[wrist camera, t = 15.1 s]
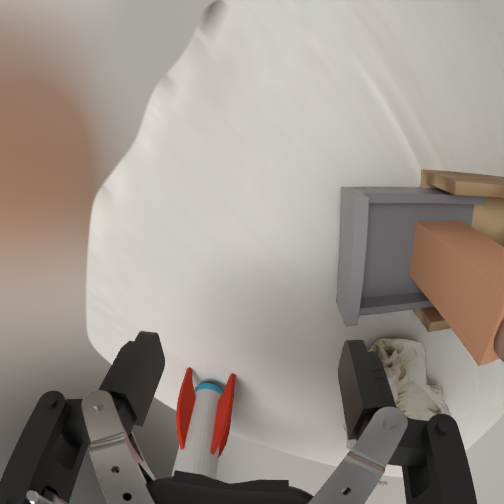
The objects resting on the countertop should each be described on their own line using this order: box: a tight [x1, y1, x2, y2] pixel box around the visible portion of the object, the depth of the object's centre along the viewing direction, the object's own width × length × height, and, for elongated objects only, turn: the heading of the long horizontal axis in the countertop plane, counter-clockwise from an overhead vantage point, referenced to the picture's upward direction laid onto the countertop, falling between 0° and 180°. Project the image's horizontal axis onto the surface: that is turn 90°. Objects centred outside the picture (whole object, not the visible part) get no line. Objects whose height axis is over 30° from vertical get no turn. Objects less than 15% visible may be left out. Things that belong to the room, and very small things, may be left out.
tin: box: [409, 220, 504, 366], centre depth 17 cm, size 5×5×13 cm
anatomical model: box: [343, 338, 451, 485], centre depth 29 cm, size 15×9×25 cm
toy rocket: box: [172, 367, 235, 479], centre depth 19 cm, size 6×6×30 cm
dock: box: [413, 170, 504, 332], centre depth 21 cm, size 13×14×7 cm
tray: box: [336, 187, 486, 326], centre depth 22 cm, size 10×13×4 cm
